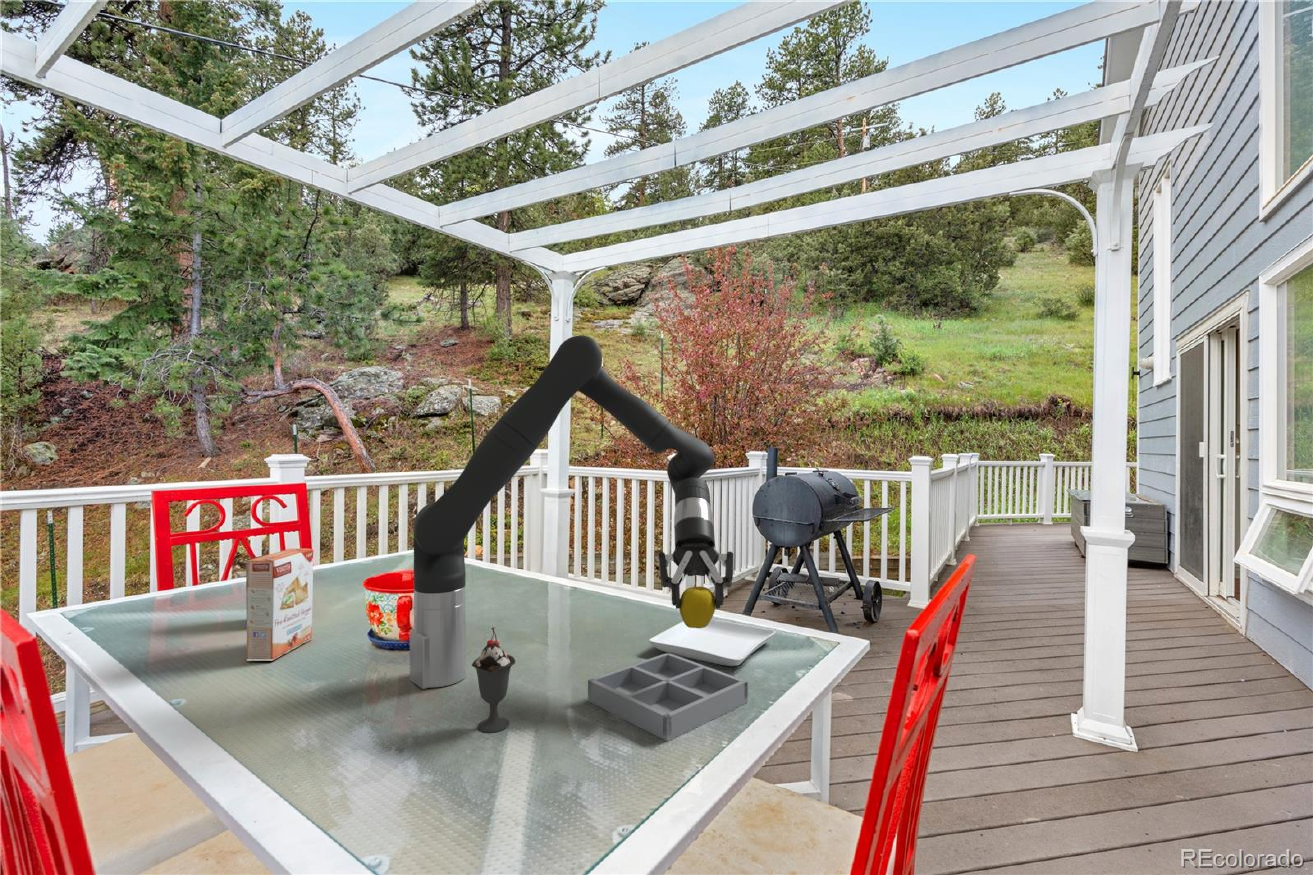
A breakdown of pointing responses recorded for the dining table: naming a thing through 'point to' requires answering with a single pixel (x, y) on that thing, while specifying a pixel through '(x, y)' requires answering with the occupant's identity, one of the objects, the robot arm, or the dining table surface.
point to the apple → (697, 606)
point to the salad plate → (713, 641)
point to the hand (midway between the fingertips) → (698, 606)
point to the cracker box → (279, 602)
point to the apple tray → (667, 694)
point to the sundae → (493, 682)
